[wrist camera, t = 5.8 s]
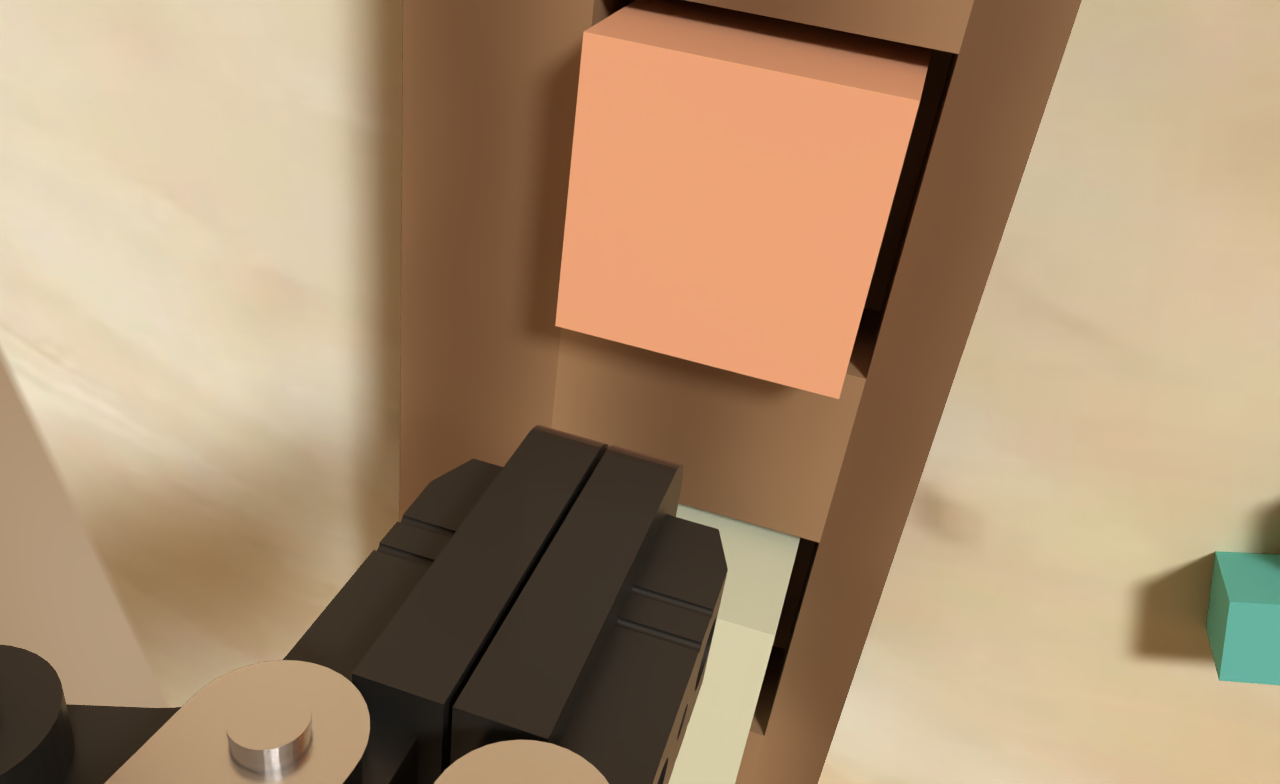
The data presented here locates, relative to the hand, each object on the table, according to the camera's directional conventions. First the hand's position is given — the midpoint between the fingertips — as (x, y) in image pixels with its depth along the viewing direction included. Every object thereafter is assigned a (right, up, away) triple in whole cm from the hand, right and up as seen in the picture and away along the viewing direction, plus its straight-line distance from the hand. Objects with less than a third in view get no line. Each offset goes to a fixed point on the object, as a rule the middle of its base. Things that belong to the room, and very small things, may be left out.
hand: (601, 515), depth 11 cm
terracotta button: (+3, +6, +10) cm, 12 cm away
